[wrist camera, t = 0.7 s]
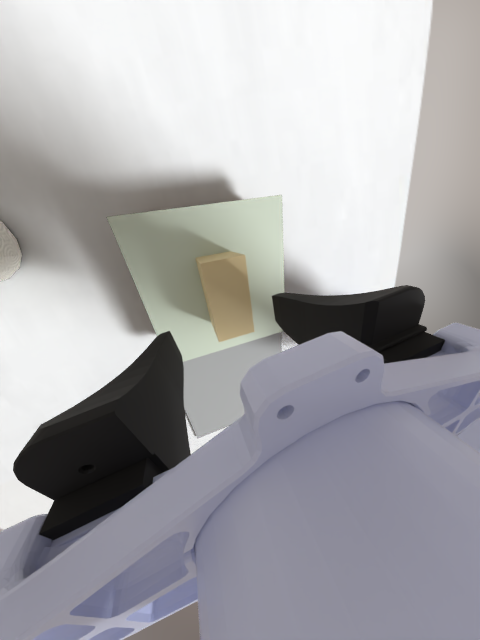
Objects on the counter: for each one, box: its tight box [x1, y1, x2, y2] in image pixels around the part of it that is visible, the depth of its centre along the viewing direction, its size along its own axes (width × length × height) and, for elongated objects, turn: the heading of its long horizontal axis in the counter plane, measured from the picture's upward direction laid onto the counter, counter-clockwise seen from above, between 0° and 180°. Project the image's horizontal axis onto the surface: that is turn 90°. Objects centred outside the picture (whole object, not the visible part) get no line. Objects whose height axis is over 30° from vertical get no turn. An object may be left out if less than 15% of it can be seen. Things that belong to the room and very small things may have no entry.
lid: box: [107, 195, 285, 362], centre depth 15 cm, size 13×13×5 cm
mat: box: [183, 332, 281, 438], centre depth 27 cm, size 16×16×1 cm
